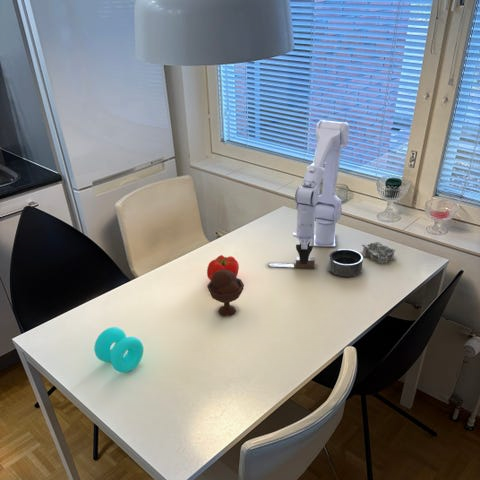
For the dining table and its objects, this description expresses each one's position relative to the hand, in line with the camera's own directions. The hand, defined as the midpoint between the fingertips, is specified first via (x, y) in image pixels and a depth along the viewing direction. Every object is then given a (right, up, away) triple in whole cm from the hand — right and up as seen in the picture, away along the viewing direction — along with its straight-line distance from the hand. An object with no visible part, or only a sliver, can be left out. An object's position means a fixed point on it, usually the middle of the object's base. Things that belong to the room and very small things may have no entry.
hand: (304, 258), depth 172 cm
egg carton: (+27, +1, +6) cm, 28 cm away
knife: (-4, -3, +3) cm, 5 cm away
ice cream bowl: (-26, -19, -18) cm, 37 cm away
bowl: (+14, -4, -1) cm, 15 cm away
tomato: (-28, -9, -4) cm, 30 cm away
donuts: (-55, -34, -36) cm, 74 cm away
